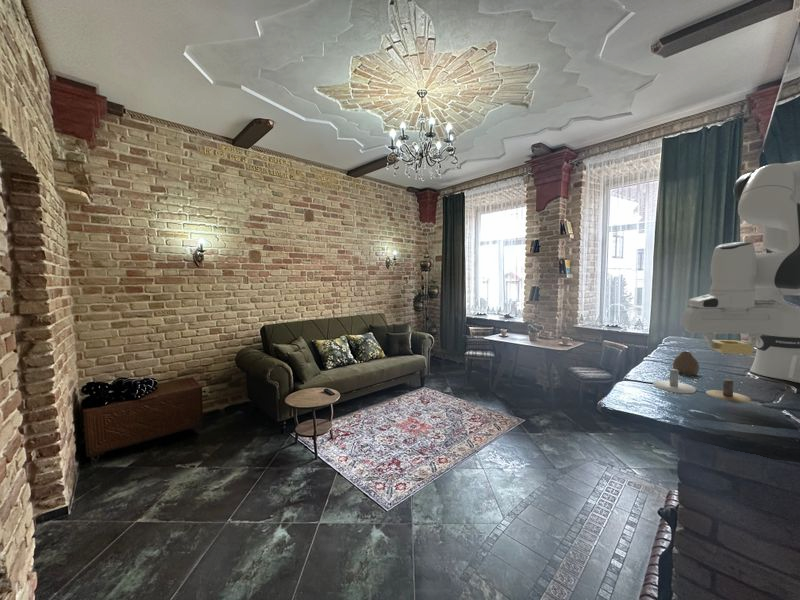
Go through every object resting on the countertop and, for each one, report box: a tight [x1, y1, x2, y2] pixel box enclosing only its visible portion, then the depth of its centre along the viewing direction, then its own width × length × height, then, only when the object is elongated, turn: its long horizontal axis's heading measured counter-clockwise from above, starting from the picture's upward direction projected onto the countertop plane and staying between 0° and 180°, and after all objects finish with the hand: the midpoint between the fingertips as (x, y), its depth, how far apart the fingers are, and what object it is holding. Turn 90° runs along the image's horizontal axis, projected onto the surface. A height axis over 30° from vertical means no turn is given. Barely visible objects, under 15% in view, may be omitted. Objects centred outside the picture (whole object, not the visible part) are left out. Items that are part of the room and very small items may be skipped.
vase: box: [672, 351, 700, 376], centre depth 112 cm, size 7×7×9 cm
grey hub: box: [652, 368, 697, 394], centre depth 98 cm, size 10×10×7 cm
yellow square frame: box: [711, 339, 754, 355], centre depth 89 cm, size 6×6×2 cm
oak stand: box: [705, 378, 752, 403], centre depth 90 cm, size 9×9×6 cm
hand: (729, 348), depth 89 cm, fingers closed on yellow square frame, 6 cm apart
